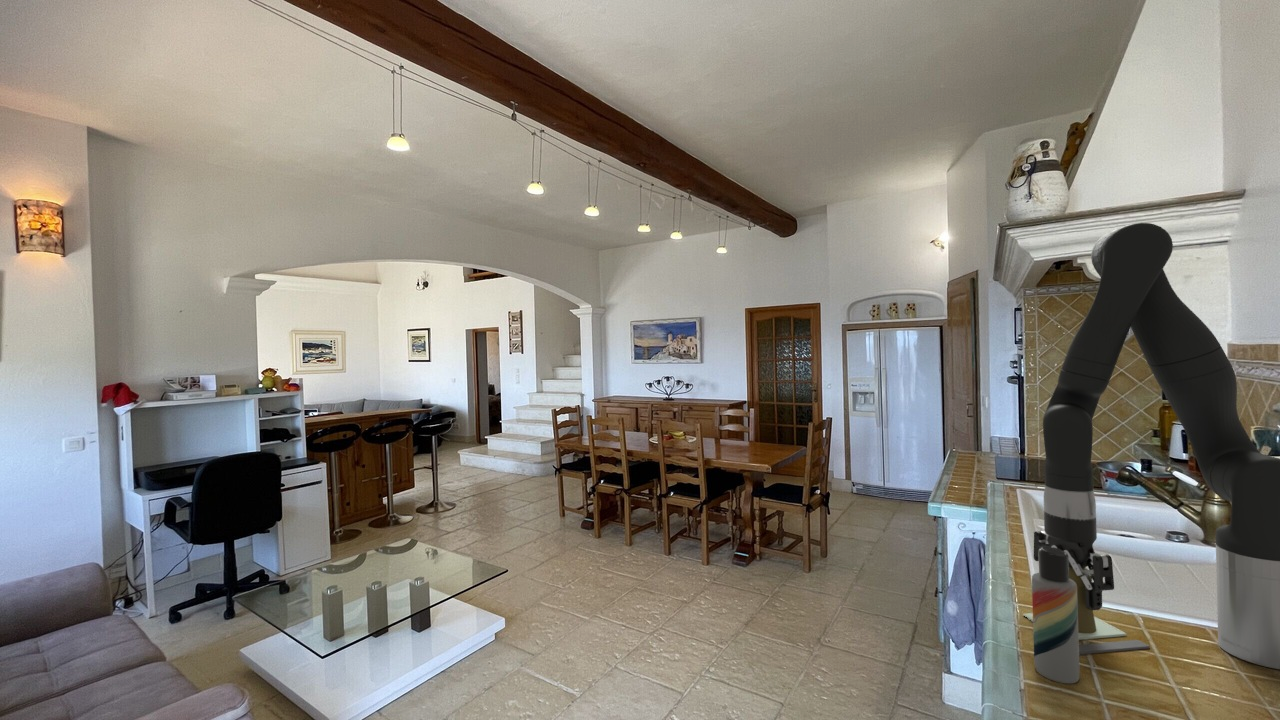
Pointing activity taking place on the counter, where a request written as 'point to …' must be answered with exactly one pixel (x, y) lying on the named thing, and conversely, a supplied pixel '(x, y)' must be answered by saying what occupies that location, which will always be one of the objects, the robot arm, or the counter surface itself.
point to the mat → (1101, 629)
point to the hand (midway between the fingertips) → (1071, 598)
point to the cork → (1083, 605)
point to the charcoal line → (1112, 646)
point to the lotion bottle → (1055, 618)
